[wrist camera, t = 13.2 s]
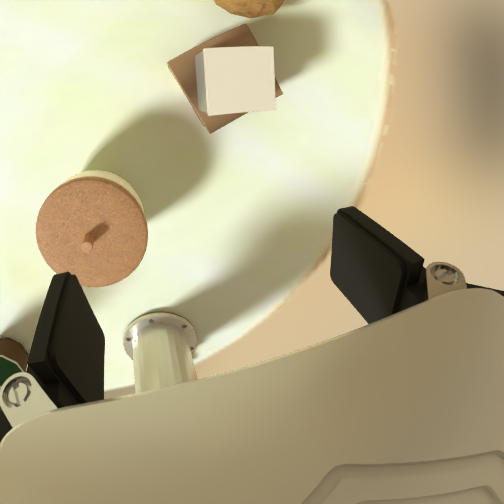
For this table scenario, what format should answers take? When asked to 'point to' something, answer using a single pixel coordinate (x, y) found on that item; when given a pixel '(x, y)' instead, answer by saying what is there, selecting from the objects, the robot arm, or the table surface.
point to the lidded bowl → (93, 228)
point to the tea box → (186, 73)
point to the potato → (250, 7)
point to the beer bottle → (11, 359)
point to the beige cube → (235, 79)
